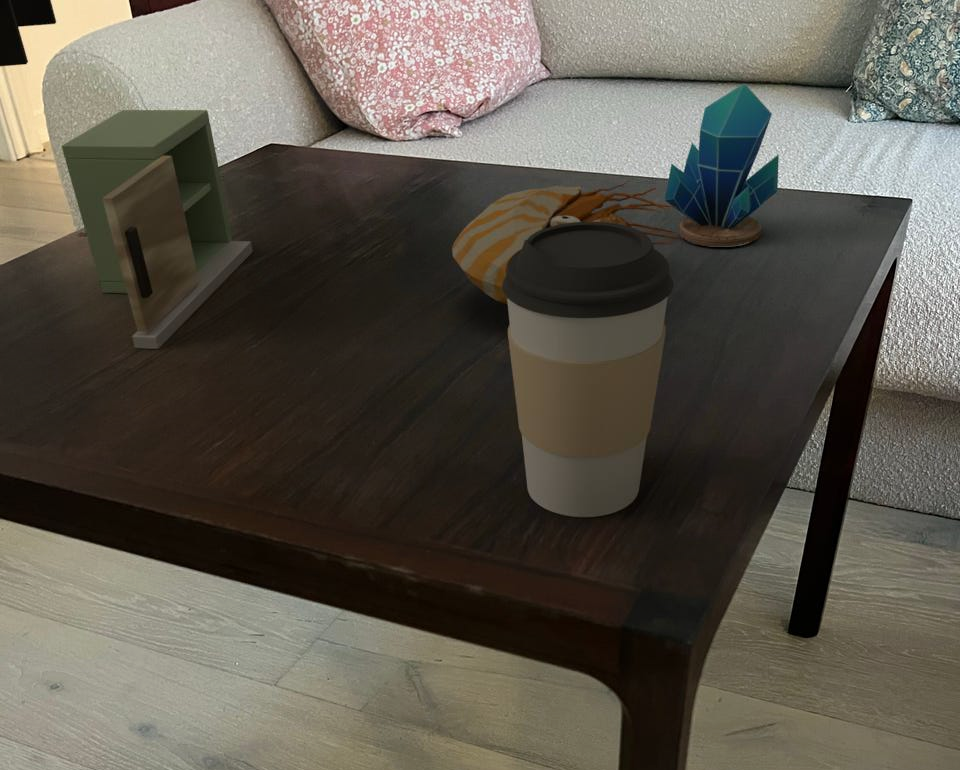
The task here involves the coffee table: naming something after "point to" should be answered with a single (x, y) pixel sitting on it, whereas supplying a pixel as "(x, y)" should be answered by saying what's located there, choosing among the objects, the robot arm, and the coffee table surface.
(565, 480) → the coffee cup
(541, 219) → the nautilus
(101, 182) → the cabinet
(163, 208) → the sliding door
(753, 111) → the gemstone
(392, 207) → the coffee table surface
